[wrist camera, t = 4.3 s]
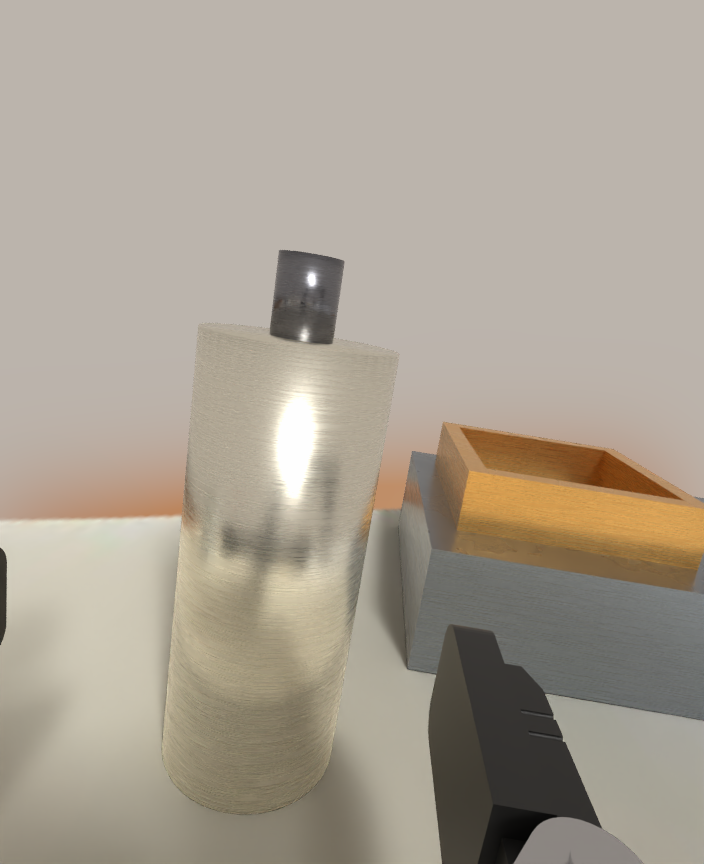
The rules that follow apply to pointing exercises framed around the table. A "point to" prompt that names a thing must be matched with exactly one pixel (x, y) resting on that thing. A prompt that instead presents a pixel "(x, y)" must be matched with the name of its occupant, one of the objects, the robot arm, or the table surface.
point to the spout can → (272, 544)
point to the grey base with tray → (557, 566)
